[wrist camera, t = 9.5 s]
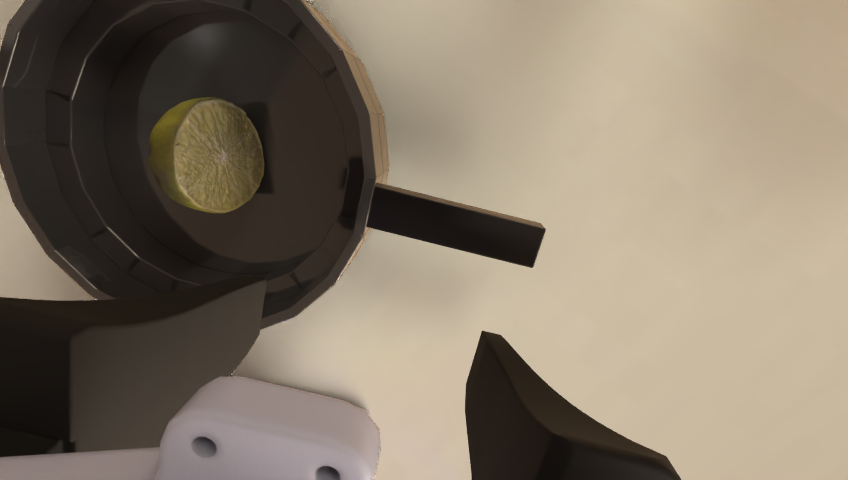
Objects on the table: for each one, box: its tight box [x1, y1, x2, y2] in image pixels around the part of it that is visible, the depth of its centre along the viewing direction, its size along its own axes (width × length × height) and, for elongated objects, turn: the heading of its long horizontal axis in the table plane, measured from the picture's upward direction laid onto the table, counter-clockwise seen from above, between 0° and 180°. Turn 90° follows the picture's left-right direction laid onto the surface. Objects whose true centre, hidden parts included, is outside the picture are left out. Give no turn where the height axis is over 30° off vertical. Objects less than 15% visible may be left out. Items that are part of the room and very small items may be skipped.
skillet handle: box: [367, 183, 546, 268], centre depth 19 cm, size 2×8×1 cm, turn 76°
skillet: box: [0, 0, 389, 330], centre depth 20 cm, size 16×16×4 cm
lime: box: [148, 97, 264, 213], centre depth 19 cm, size 4×5×5 cm
